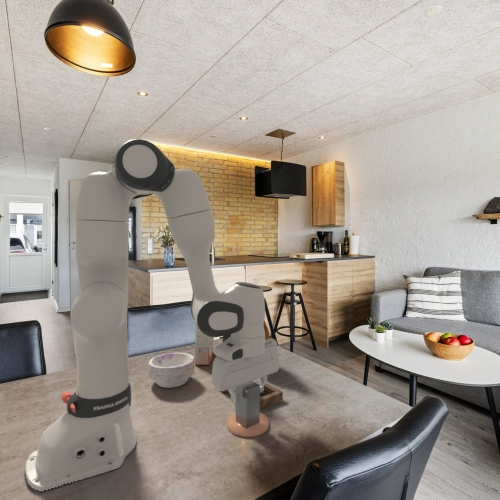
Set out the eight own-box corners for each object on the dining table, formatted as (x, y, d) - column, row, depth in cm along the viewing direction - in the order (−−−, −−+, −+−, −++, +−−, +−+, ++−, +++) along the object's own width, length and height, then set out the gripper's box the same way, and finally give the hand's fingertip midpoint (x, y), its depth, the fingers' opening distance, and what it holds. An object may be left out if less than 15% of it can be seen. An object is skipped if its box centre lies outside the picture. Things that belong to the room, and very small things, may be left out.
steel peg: (246, 428, 84) (246, 390, 83) (235, 421, 87) (235, 383, 87) (259, 422, 87) (259, 385, 86) (248, 415, 90) (248, 379, 90)
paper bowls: (168, 370, 122) (168, 348, 122) (203, 377, 116) (203, 355, 116) (138, 386, 109) (138, 363, 108) (176, 396, 102) (175, 371, 102)
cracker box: (210, 365, 126) (210, 311, 126) (194, 365, 127) (194, 311, 126) (214, 352, 140) (214, 304, 140) (200, 352, 140) (200, 304, 140)
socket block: (260, 409, 95) (260, 401, 94) (241, 397, 101) (241, 389, 101) (282, 399, 100) (282, 391, 100) (262, 389, 107) (263, 381, 107)
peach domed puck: (244, 442, 79) (244, 439, 79) (218, 422, 88) (218, 419, 88) (277, 426, 86) (277, 423, 86) (250, 409, 95) (250, 406, 95)
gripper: (269, 334, 95) (268, 381, 96) (208, 349, 82) (208, 403, 83) (284, 339, 90) (284, 389, 91) (223, 356, 77) (223, 414, 78)
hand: (247, 396), depth 87 cm, fingers open, 7 cm apart
